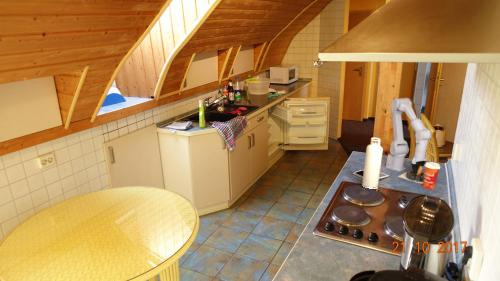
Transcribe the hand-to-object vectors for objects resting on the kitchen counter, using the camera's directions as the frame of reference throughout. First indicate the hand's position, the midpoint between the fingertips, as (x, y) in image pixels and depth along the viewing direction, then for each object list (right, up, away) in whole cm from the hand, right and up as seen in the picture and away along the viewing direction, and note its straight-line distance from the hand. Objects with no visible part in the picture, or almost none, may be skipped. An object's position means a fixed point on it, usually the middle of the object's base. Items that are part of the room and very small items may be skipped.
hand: (416, 172), depth 204 cm
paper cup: (+1, -8, -11) cm, 14 cm away
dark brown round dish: (0, -3, +1) cm, 3 cm away
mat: (-1, -3, +2) cm, 4 cm away
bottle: (-32, -7, -13) cm, 35 cm away
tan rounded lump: (0, -1, +1) cm, 2 cm away
